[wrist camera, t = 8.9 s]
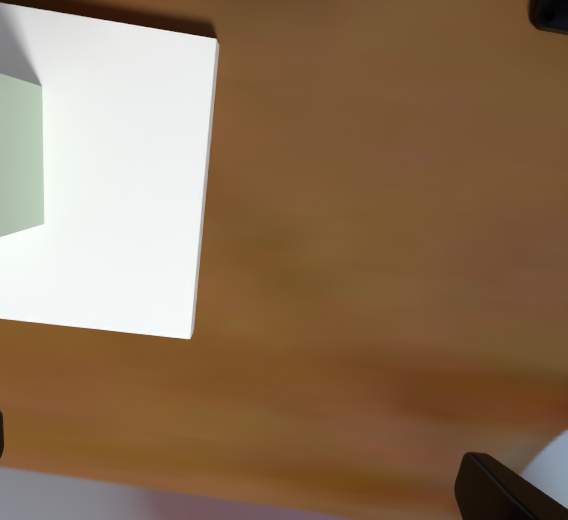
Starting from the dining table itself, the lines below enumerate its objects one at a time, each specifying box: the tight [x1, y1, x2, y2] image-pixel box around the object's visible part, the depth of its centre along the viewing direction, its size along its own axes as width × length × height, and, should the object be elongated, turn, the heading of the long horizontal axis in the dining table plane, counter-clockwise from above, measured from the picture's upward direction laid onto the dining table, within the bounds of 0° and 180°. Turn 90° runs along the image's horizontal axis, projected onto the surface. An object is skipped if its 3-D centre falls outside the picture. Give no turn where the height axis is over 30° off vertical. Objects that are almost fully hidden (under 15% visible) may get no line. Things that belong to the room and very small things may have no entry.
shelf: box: [0, 3, 219, 339], centre depth 17 cm, size 13×14×3 cm
